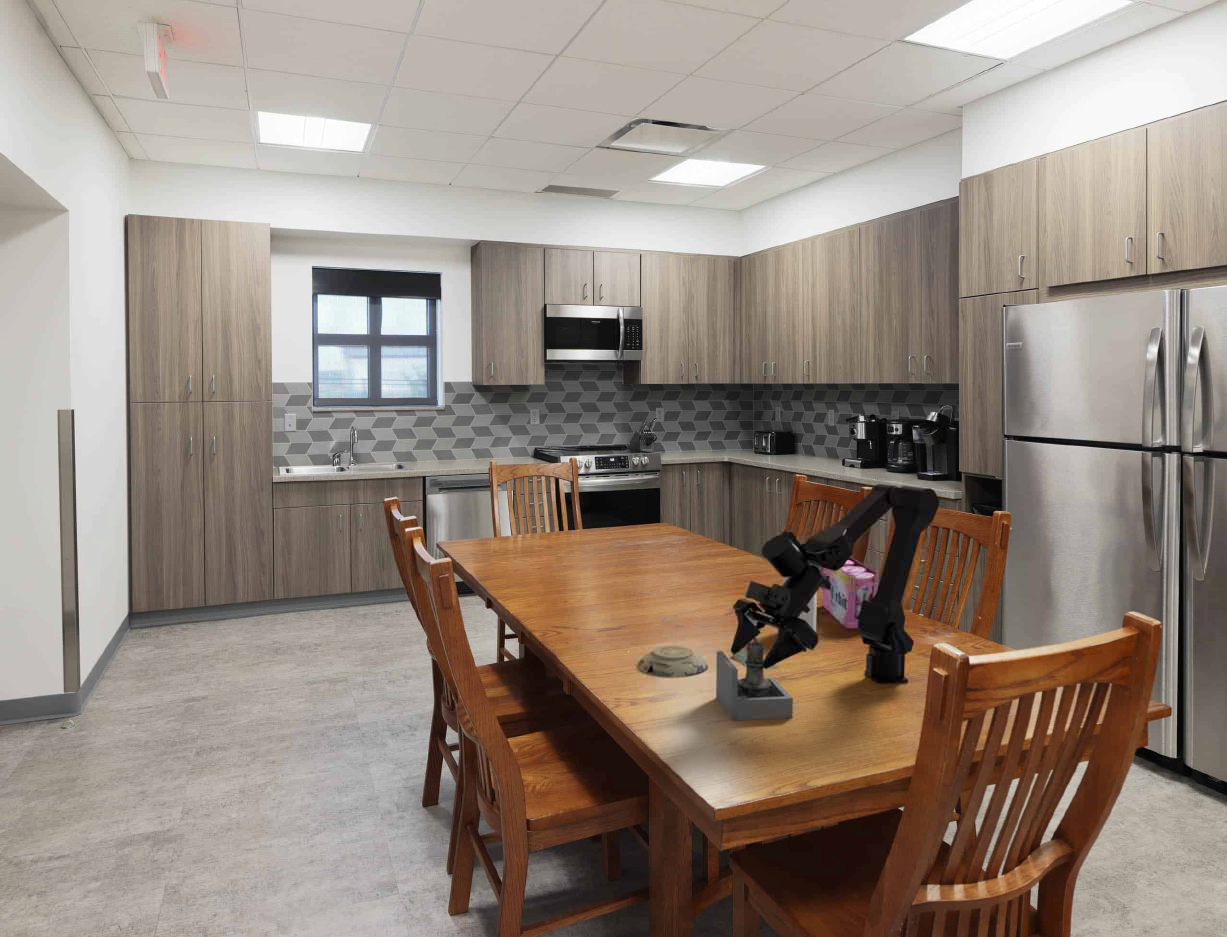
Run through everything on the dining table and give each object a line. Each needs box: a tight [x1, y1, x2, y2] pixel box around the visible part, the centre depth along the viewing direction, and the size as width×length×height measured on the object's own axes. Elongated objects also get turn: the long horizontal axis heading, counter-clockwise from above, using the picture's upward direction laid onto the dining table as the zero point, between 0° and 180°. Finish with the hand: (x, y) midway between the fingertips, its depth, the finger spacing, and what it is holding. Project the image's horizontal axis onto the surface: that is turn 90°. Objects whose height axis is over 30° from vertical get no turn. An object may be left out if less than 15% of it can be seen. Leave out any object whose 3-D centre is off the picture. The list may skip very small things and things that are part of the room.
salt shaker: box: [738, 636, 771, 698], centre depth 149 cm, size 6×6×12 cm
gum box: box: [822, 556, 879, 629], centre depth 211 cm, size 24×8×14 cm, turn 1°
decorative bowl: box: [637, 645, 709, 678], centre depth 173 cm, size 15×4×15 cm
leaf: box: [731, 650, 779, 670], centre depth 171 cm, size 20×8×1 cm, turn 12°
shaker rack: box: [715, 650, 794, 721], centre depth 149 cm, size 11×11×9 cm
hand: (747, 659), depth 148 cm, fingers open, 9 cm apart
